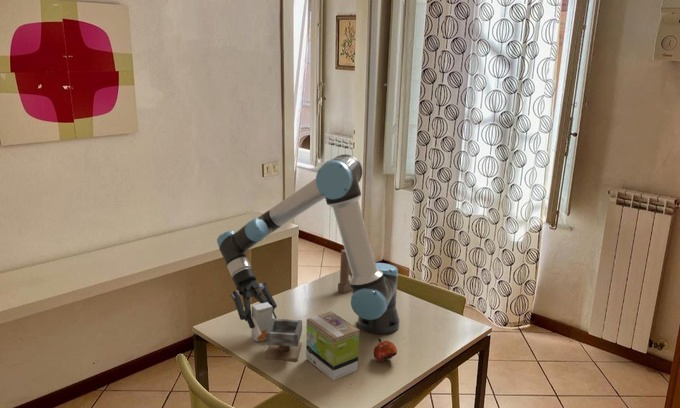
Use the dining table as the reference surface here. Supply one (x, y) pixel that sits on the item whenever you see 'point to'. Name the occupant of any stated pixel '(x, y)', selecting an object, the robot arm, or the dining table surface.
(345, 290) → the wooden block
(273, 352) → the cup stand
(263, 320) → the skincare box
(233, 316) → the dining table surface
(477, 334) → the dining table surface
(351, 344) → the tea box
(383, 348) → the red rounded piece
